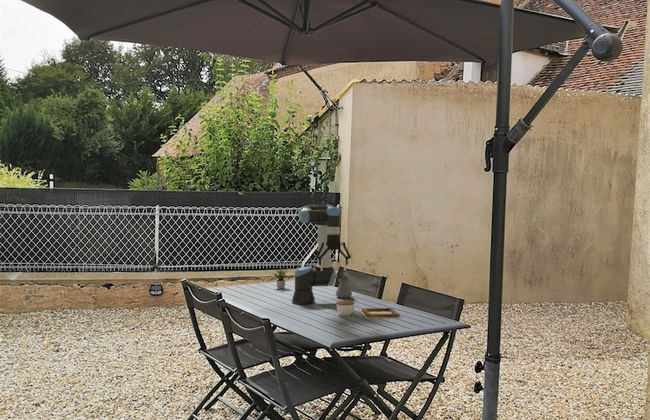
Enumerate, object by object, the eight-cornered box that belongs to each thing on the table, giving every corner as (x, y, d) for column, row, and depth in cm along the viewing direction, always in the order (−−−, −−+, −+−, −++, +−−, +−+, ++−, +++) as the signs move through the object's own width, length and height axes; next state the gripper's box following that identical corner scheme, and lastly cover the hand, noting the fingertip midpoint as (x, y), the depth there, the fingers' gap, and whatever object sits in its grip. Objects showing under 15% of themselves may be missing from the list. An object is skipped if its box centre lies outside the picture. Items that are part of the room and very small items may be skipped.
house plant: (284, 286, 448) (284, 265, 448) (294, 288, 438) (294, 266, 437) (268, 288, 439) (268, 266, 439) (279, 290, 429) (279, 268, 428)
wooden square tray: (359, 310, 357) (359, 307, 357) (393, 310, 360) (393, 307, 360) (365, 318, 335) (365, 315, 335) (402, 317, 338) (402, 314, 338)
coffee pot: (355, 298, 399) (355, 276, 399) (341, 299, 393) (341, 277, 393) (337, 293, 417) (338, 272, 417) (324, 295, 411) (324, 273, 410)
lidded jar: (350, 312, 353) (350, 297, 353) (357, 315, 343) (357, 300, 343) (333, 313, 349) (333, 298, 349) (340, 317, 339) (340, 301, 339)
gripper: (312, 234, 329) (312, 271, 330) (355, 234, 332) (355, 271, 332) (311, 233, 337) (311, 269, 338) (353, 233, 339) (353, 269, 340)
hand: (333, 270), depth 335 cm, fingers open, 13 cm apart
